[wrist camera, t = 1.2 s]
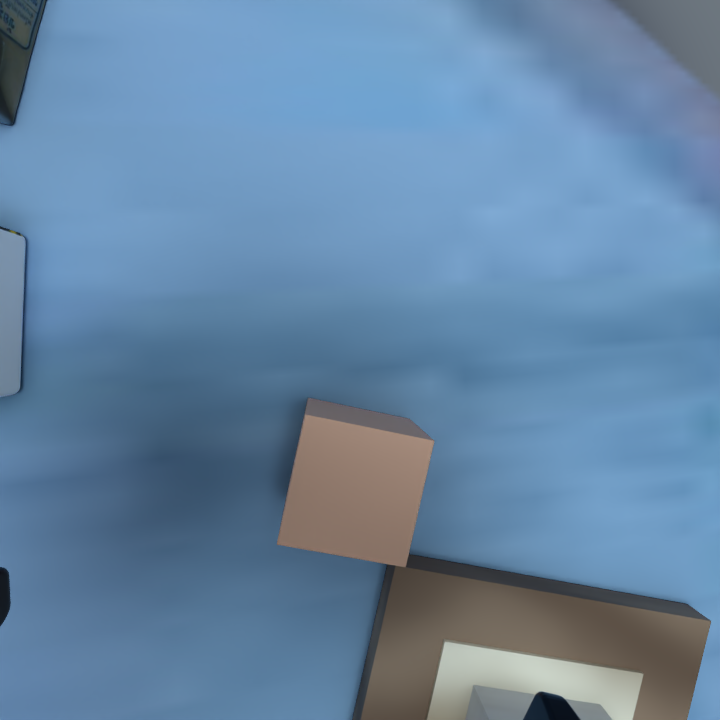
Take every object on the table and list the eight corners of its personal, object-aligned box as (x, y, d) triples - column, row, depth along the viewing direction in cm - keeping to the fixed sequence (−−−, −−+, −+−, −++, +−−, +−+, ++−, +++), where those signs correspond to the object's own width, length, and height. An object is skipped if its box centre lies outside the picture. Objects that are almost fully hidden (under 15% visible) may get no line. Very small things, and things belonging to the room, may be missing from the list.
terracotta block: (386, 518, 23) (405, 567, 18) (285, 499, 23) (276, 544, 18) (409, 418, 23) (434, 440, 18) (307, 397, 23) (305, 414, 18)
